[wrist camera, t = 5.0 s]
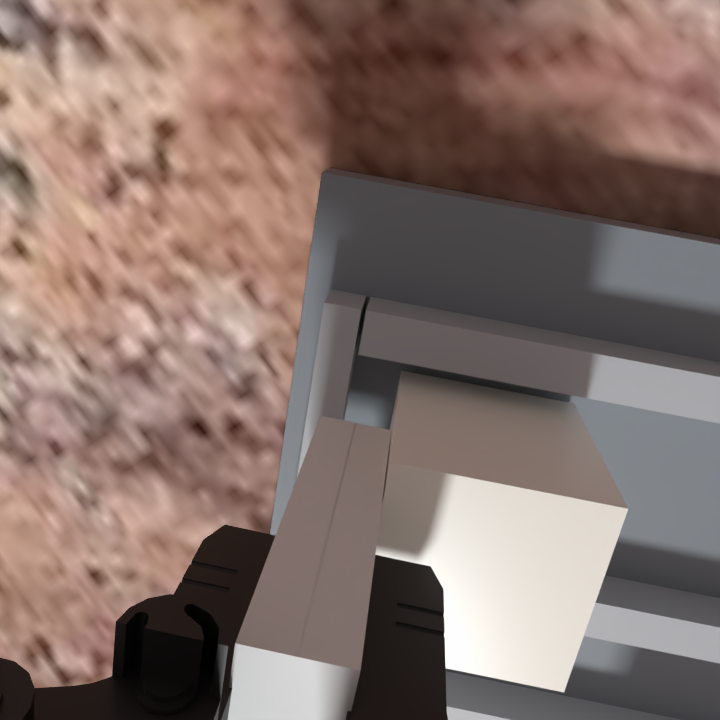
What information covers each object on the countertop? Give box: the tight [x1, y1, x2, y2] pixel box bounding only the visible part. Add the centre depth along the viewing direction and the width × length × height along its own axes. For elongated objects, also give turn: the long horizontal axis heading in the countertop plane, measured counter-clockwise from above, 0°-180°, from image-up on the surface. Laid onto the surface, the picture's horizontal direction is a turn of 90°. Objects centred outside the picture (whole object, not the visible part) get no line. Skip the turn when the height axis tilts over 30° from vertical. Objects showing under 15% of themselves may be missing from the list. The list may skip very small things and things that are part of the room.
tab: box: [375, 370, 628, 692], centre depth 14 cm, size 4×4×4 cm
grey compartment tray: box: [270, 168, 720, 720], centre depth 18 cm, size 22×17×3 cm
